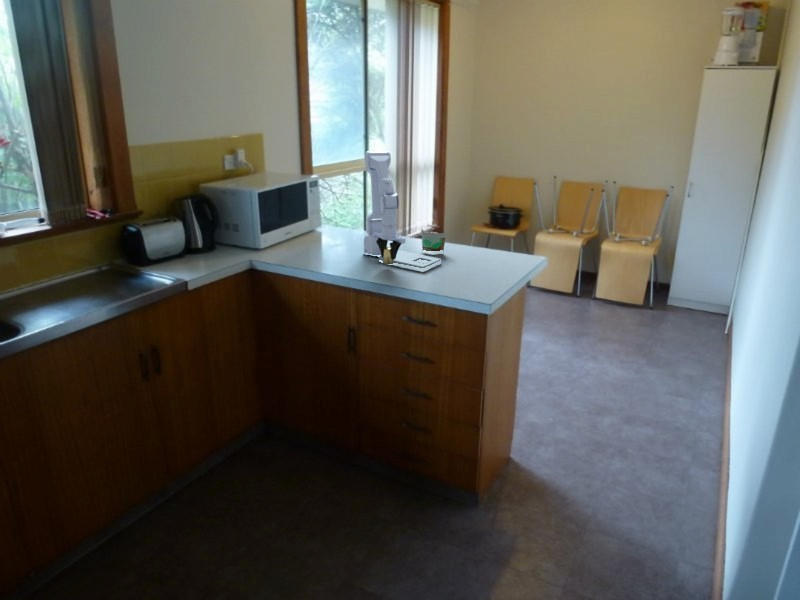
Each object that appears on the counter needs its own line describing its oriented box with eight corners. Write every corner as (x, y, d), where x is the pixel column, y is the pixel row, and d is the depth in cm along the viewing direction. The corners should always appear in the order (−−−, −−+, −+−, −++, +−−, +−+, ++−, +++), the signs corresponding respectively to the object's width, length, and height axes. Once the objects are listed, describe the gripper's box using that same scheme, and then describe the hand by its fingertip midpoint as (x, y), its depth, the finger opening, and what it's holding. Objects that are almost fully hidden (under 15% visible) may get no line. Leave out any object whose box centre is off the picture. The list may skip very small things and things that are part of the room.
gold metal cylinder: (381, 263, 238) (381, 248, 235) (387, 260, 241) (387, 246, 239) (389, 264, 235) (390, 250, 233) (395, 262, 239) (396, 248, 236)
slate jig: (378, 262, 246) (378, 257, 245) (397, 255, 257) (397, 249, 256) (423, 272, 235) (423, 266, 234) (441, 264, 245) (441, 258, 245)
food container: (414, 253, 260) (415, 231, 257) (420, 250, 266) (421, 228, 262) (440, 257, 255) (441, 235, 252) (446, 254, 260) (447, 232, 257)
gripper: (368, 223, 233) (368, 256, 238) (398, 229, 226) (397, 263, 230) (378, 220, 239) (378, 253, 243) (408, 226, 231) (407, 259, 236)
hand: (388, 257), depth 237 cm, fingers closed on gold metal cylinder, 4 cm apart
